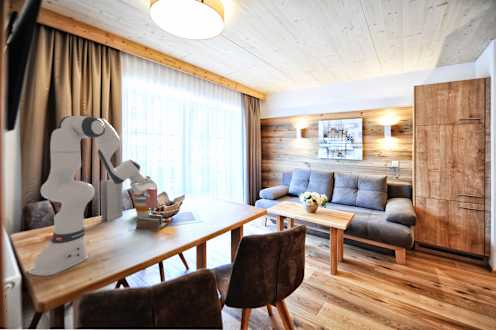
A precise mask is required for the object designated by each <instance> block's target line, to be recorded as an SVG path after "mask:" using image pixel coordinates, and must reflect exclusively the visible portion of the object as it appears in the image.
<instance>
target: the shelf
mask: <svg viewBox="0 0 496 330" xmlns="http://www.w3.org/2000/svg"><path fill="white" fill-rule="evenodd" d="M135 219H136V226H135V230H140V231H148V232H156V233H157V232H159V231H160V230H162V229H164V228H165V227H167V226H168V223H167V222H162V224H159V219H150V218H148V217H144V218H139V217H136V218H135Z"/></svg>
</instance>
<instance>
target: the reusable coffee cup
mask: <svg viewBox="0 0 496 330" xmlns="http://www.w3.org/2000/svg"><path fill="white" fill-rule="evenodd" d="M134 203H135V204H134V207H135V211H136V216H137V217H136V218H138V217H139V218H148V215H149V214H151V210H150V209H149V208H147V207H146V195H141V196H140V195H138V196H135V197H134Z"/></svg>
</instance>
